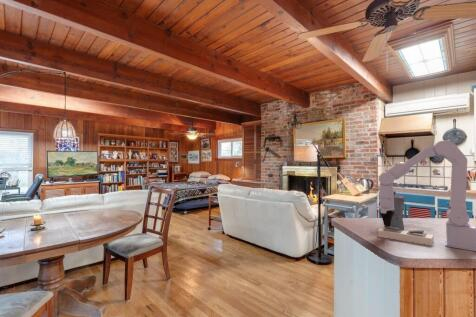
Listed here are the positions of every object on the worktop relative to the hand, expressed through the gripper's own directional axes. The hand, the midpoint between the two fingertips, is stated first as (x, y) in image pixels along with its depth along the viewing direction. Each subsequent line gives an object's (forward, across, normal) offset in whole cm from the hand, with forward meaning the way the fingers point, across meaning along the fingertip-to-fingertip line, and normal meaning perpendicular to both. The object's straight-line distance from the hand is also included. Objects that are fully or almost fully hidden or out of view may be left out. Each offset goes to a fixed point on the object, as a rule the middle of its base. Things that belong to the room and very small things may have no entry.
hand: (387, 226), depth 113 cm
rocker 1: (0, 0, +2) cm, 2 cm away
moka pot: (+5, -19, -1) cm, 20 cm away
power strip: (+5, 0, +7) cm, 8 cm away
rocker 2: (0, 0, +11) cm, 11 cm away
